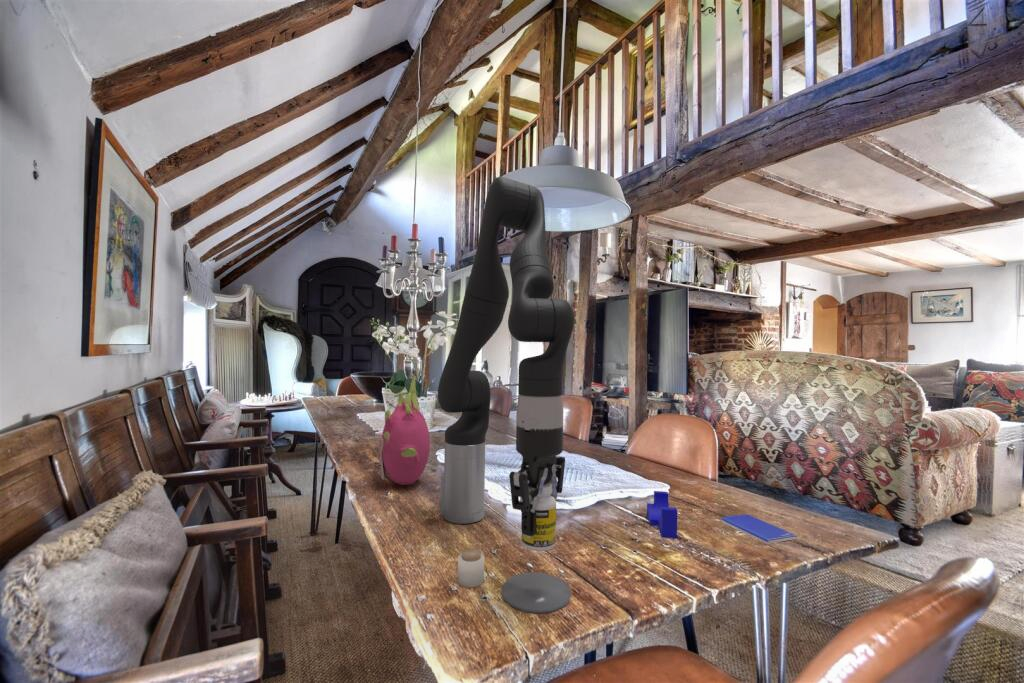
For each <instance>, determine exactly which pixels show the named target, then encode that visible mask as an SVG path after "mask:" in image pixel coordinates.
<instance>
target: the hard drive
mask: <svg viewBox="0 0 1024 683" xmlns="http://www.w3.org/2000/svg"><path fill="white" fill-rule="evenodd" d="M720 522H721V523H723V524H724V525H727V526H729V527H731V528H733V529H734V530H736V531H738V532H741V533H743V534H744V535H747V536H749V537H750V538H753V539H755V538H756V539H755V540H757V539H758V540H757V541H759V540H760V541H759V542H761V541H762V543H763V542H765V543H767V544H769V543H775V542H780V541H785V540H790V539H795V538H797V539H798V535H796V534H793V533H792V532H789V531H787V530H785V529H782V528H780V527H778V526H775V525H773V524H771V523H769V522H766V521H764V520H761V519H759V518H758V517H755V516H752V515H751V514H747V513H746V514H738V515H732V516H731V515H730V516H724V517H721V520H720ZM765 543H764V544H765ZM767 544H766V545H767ZM775 544H776V543H775Z"/></svg>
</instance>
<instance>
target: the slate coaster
mask: <svg viewBox="0 0 1024 683" xmlns="http://www.w3.org/2000/svg"><path fill="white" fill-rule="evenodd" d="M571 594H572V590H571V587H570V586H569V584H568V583H567V582H566V581H565V580H564V579H561V578H560V577H558V576H556V575H553V574H550V573H544V572H535V571H534V572H531V571H530V572H522V573H519V574H516V575H513V576H510V577H509V578H507V579H506V580H505V581H504V583H503V584H502V587H501V595H502V598H504V599H503V600H504V601H505V603H507V605H509V606H510V607H512V608H513V609H516V610H518V611H521V612H526V613H531V614H548V613H553V611H554V612H556V611H559V610H561V609H563V608H565V607H566V606H567V605H568V604H569V603H570V601H571V597H572V595H571Z"/></svg>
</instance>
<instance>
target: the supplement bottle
mask: <svg viewBox="0 0 1024 683" xmlns="http://www.w3.org/2000/svg"><path fill="white" fill-rule="evenodd" d="M528 490H532V491H534V490H536V488H532V487H529V486H528ZM551 494H552V483H550V482H549V483H547V484H545V485H544V486H543V491H542V495H541V497H539V498H538V501H537V506H536V510H535V511H536V534H535V535H533V536H528V535H524V534H523V533H522V532H521V544H522V545H523V547H525V548H526V549H527V550H531V551H535V552H536V551H537V552H544V551H548V550H551V549H553V548H554V547H555V545H556V533H557V532H556V530H557V529H556V526H557V523H556V522H557V521H556V520H557V501H556V500H557V499H556V500H555V498H554V497H552V496H551ZM531 499H532V496H531V495H529V501H530V503H531Z"/></svg>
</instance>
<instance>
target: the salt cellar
mask: <svg viewBox="0 0 1024 683" xmlns="http://www.w3.org/2000/svg"><path fill="white" fill-rule="evenodd" d="M484 582H485V555H484V554H483V553H482V551H481V550H480V549H479V548H475V547H468V548H465V549H463V550H462V551H461V553H460V554H459V555H458V557H457V583H458V585H459V586H461V587H463V588H468V587H470V588H471V589H472V588H477V587H479V585H480V586H481V585H483V584H484ZM482 583H483V584H482ZM470 588H469V589H470Z"/></svg>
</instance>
